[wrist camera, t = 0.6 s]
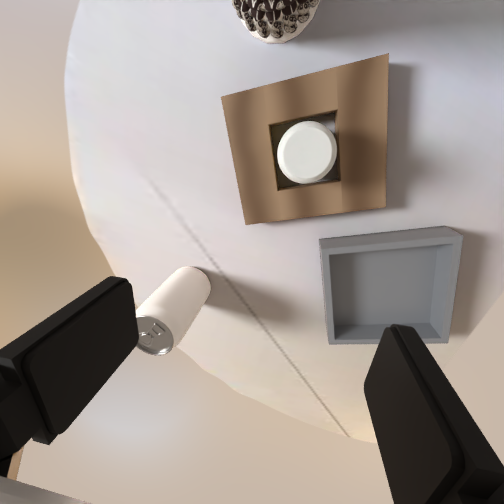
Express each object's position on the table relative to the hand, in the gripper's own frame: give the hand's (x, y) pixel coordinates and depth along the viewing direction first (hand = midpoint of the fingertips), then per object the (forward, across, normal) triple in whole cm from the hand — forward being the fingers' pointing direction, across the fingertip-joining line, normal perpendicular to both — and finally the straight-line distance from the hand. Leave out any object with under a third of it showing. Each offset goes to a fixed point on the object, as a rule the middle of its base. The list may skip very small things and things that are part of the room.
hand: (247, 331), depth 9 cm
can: (+24, +13, +14) cm, 31 cm away
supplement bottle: (+24, -2, -6) cm, 25 cm away
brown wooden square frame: (+24, -2, -6) cm, 25 cm away
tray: (+24, -14, +9) cm, 29 cm away
